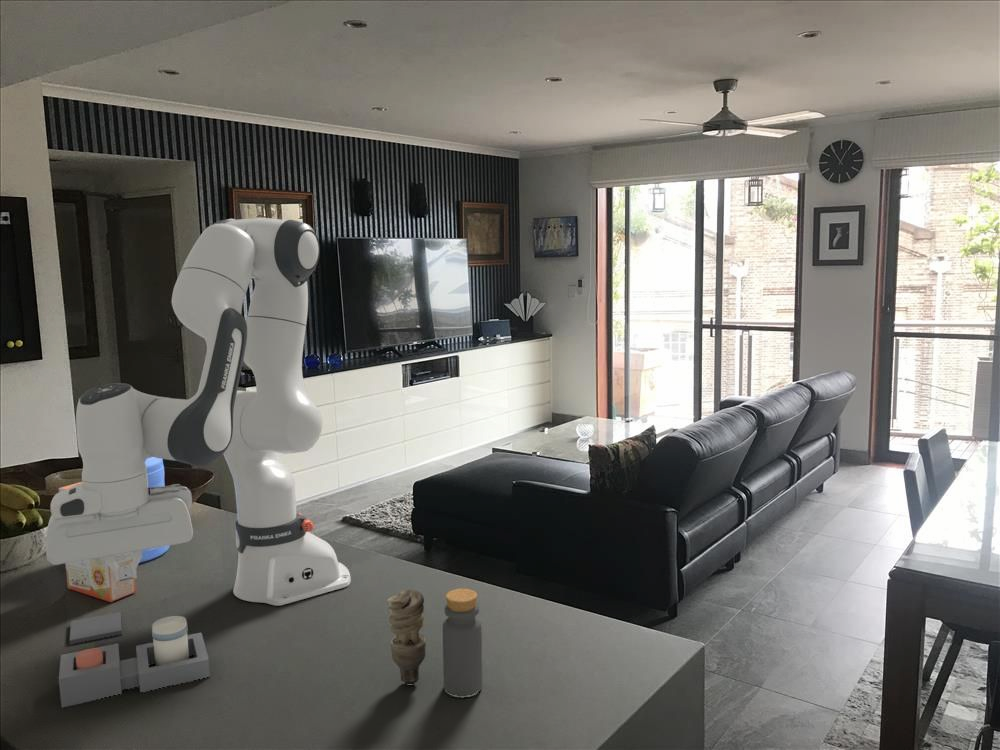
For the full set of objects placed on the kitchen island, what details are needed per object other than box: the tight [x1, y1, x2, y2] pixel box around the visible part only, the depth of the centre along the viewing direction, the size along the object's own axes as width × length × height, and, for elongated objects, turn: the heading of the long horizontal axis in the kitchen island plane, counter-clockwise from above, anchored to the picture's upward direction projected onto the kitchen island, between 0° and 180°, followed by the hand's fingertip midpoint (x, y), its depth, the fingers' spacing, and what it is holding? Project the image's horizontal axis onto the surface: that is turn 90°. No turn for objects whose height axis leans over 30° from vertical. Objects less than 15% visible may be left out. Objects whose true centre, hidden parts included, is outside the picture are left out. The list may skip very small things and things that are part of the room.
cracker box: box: [58, 481, 137, 603], centre depth 157 cm, size 14×6×21 cm, turn 59°
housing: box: [58, 632, 211, 709], centre depth 125 cm, size 20×10×4 cm, turn 116°
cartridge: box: [151, 615, 190, 667], centre depth 127 cm, size 5×5×8 cm
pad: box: [69, 611, 123, 645], centre depth 142 cm, size 8×8×1 cm
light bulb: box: [386, 589, 427, 685], centre depth 122 cm, size 6×6×15 cm
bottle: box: [442, 588, 483, 696], centre depth 121 cm, size 6×6×15 cm
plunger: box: [76, 647, 103, 670], centre depth 122 cm, size 4×4×5 cm
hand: (126, 578), depth 124 cm, fingers closed
